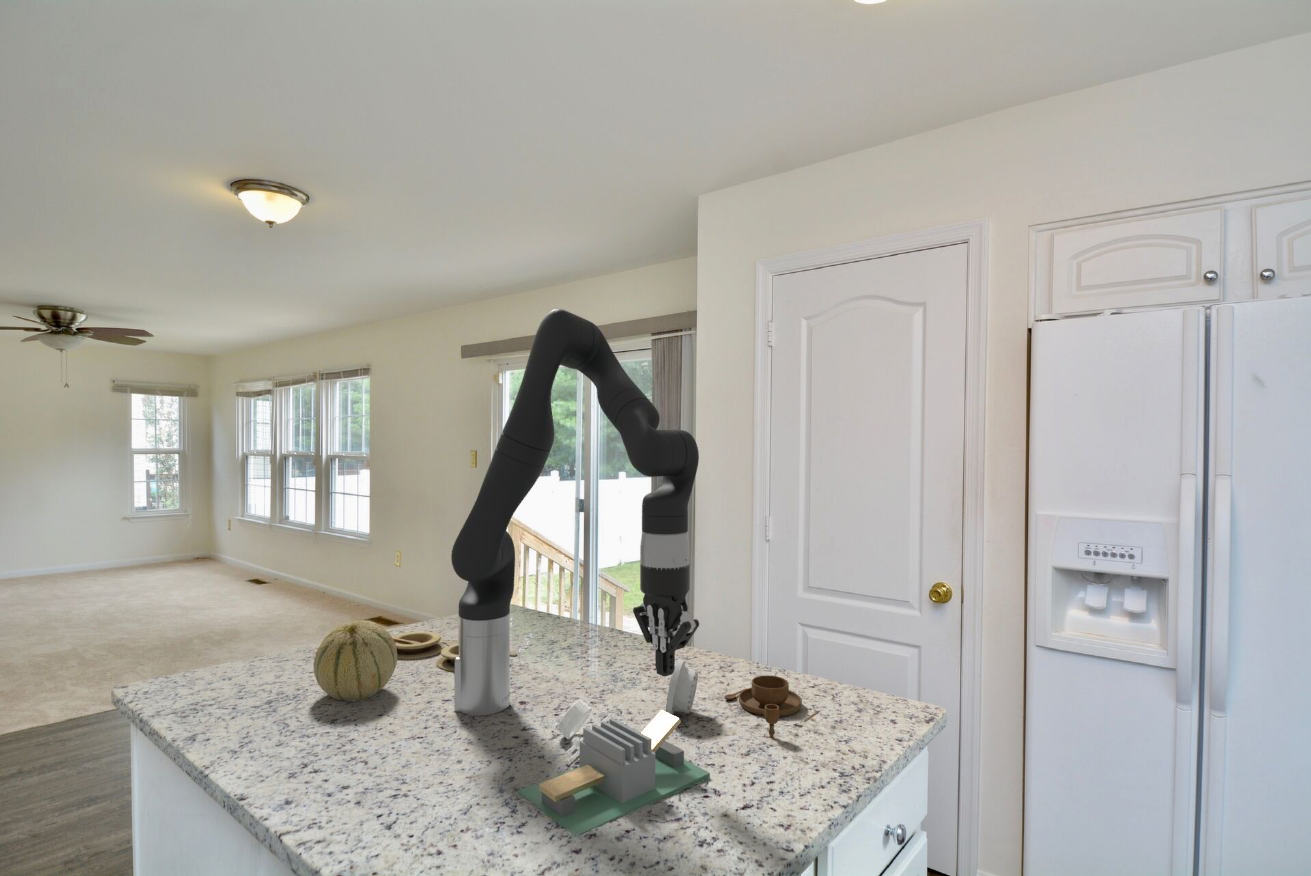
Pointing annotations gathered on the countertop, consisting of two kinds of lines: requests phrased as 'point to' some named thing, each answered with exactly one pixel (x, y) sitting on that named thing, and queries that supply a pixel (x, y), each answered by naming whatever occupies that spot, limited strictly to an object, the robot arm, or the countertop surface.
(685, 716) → the countertop surface
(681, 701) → the mechanical component
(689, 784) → the board
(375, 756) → the countertop surface
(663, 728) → the wooden block
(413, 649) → the tableware set
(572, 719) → the wide band ring
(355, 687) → the cantaloupe
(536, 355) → the robot arm
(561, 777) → the left strap
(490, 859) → the countertop surface
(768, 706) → the place setting
